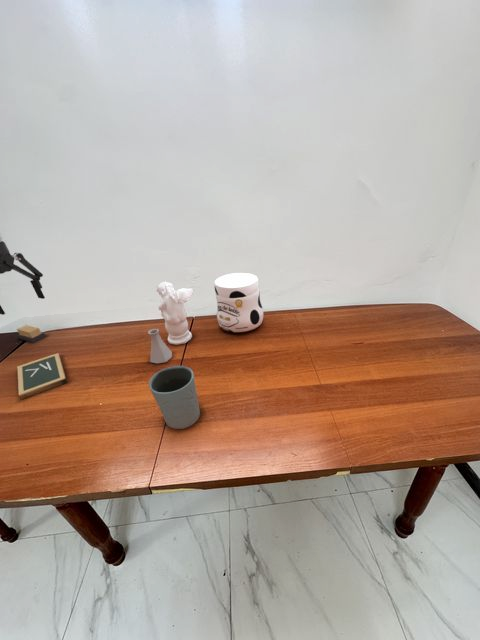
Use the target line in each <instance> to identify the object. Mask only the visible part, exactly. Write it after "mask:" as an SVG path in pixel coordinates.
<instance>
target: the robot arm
mask: <svg viewBox="0 0 480 640" xmlns="http://www.w3.org/2000/svg"><path fill="white" fill-rule="evenodd" d="M15 261H18V262H19V263H20V264H21V265H22V266H24V267H25V268H26V269H28V270H29V271H30V272H29V271H27V270H25V269H23V268H22V267H20V266H19V265H17V264H15ZM12 270H13V271H15V272H17V273H19V274H21V275H22V276H25V277H26V278H29V279H31V280H29V282H30V284H31V287H32V288H33V290H34V292H35V294H36V296H37V298H38V299H42V300H43V299H45V298H46V297H45V295H44V293H43V291H42V289H43V285H42V283H41V281H40V280H41V278H42V277H44V274H43V273H42V272H41V271H40V270H38V269H37V268H36V267H35V266H34V265H33V264H32V263H30V261H28V260H27V259H26V258H25V256H24V255H23V253H22V252H14V254H12V253H10V250H9V248H8V246H7V244H6V242H5V241H3V236H2V235H1V233H0V275H2V274H5V273H8V272H11V271H12ZM0 315H1V316H3V315H6V312H5V310H4V309H3V307H2V305H1V304H0Z"/></svg>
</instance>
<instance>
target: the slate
mask: <svg viewBox="0 0 480 640" xmlns="http://www.w3.org/2000/svg"><path fill="white" fill-rule="evenodd" d="M62 361H63V360H62V358H61V355H60V353H59V352H57V353H55V354H51V355H47V356H45V357H41V358H39V359H36V360H32V361H29V362H27V363H24V364H21V365H17V366H16V367H17V386H18V387H17V389H18V396H19V398H20V400H24V399H27V398H29V397H32V396H35V395H39V394H40V393H43V392H45V391H49V390H51V389H54V388H56V387H59V386H61V385H65V384H66V383H68V380H67V376H66V372H65V369H64V366H63V365H64V364H63V362H62Z"/></svg>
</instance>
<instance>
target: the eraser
mask: <svg viewBox="0 0 480 640" xmlns="http://www.w3.org/2000/svg"><path fill="white" fill-rule="evenodd" d="M16 331H17V333H18V335H17V338H18V339H19V340H22V341H26V342H30V343H33V344H34V343H36V342H38V341H40V340H41V339H43V338H46V337H47V335H46V334H45V332H42V331H41V330H40V328H39V327H35V326H32V325H28V324H25V325H22V326H21V327H18V328H16Z"/></svg>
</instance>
